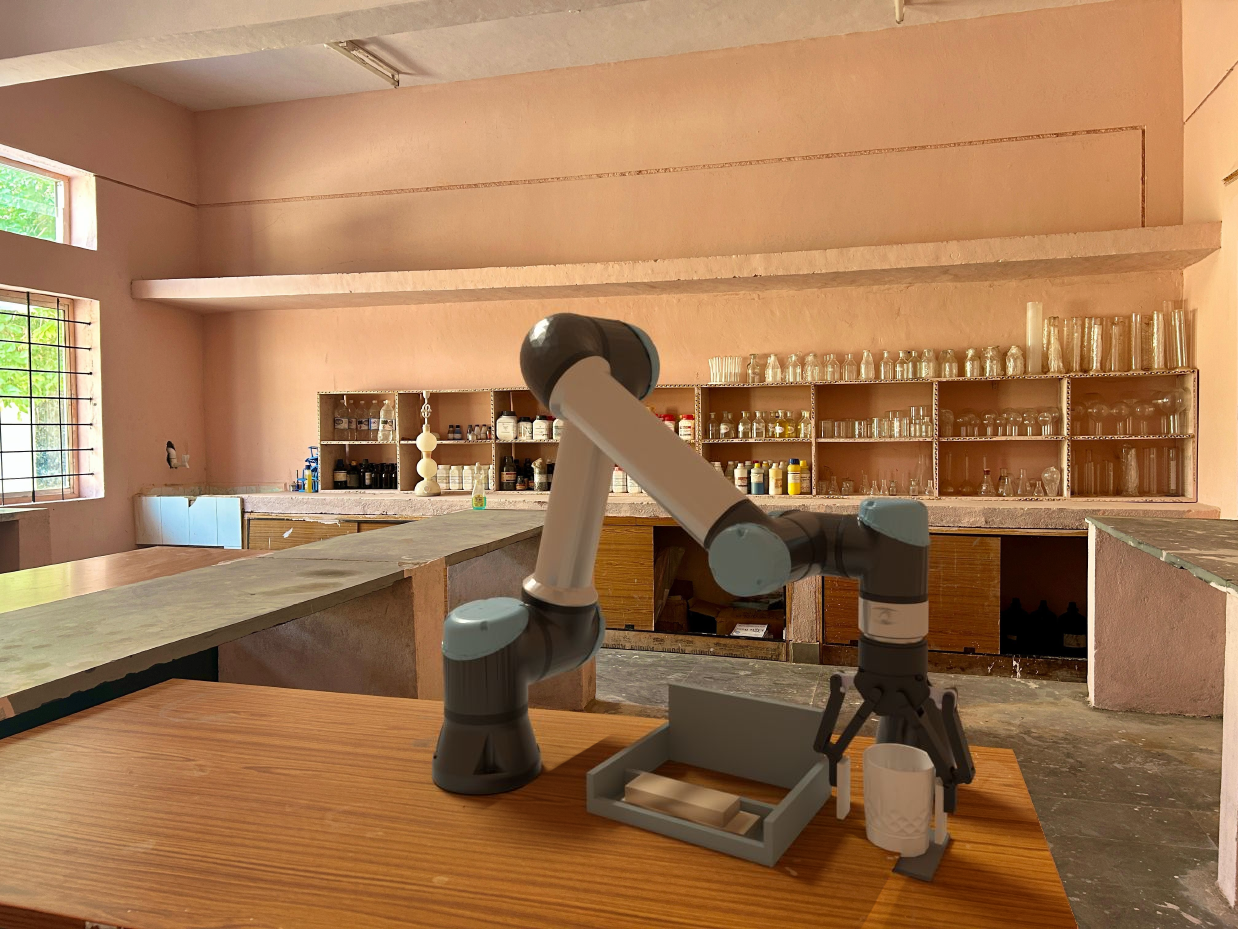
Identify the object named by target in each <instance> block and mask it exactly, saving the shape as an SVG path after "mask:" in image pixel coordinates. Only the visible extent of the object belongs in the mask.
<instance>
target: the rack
mask: <svg viewBox="0 0 1238 929" xmlns="http://www.w3.org/2000/svg"><path fill="white" fill-rule="evenodd" d="M667 691H668V721H665V722H664V723H662V724H660V725H659V726H657V727H656V728H654V729H652V730H651V731H649V732H648V733H646V734H645V735H643V736H642V737H640V738H638V739H637V740H636V741H634V742H633V743H631V744H629V745H628V746H626V747H624V748H623V749H621V750H619V751H618V752H617V753H615V754H614V755H612V756H610V757H609V758H607V759H606V760H604V761H603V762H601V763H599V764H598V765H596V766H595V767H593V768H592V769H590V770H589V771H587V772H586V779H585V780H586V812H587V813H590V814H593V815H597V816H600V817H604V818H607V819H610V820H614V821H617V822H620V823H622V824H626V825H630V826H634V827H637V828H640V829H643V830H646V831H649V832H653V833H657V834H660V835H663V836H666V837H670V838H673V839H676V840H680V841H682V842H686V843H690V844H694V845H697V846H700V847H703V848H707V849H710V850H713V851H717V852H719V853H722V854H727V855H730V856H734V857H736V858H740V859H743V860H747V861H749V862H753V863H756V864H760V865H764V866H767V867H770V868H773V867H774V866H775V865H776V864H777V862H779V860H780V859H781V858H782V856H783V855H784V854H785V853H786V851H788V848H790V846H791V845H792V844H793V843H794V842H795V840H796V839H797V837H798V836H800V834H801V833H802V831H803V830H804V829H805V828H806V827H807V826H808V824H809V823H810V822H811V821H812V819H814V817H815V816H816V814H818V812H819V811H820V809H821V808H822V807H823V806H824V804H825V803H826V802H827V801H828V799H829V798H830V797H831V796H832V788H833V786H830V783H829V759H828V757H827V756H826V755H824V754H822V753H817V752H815V751H814V749H813V745H814V742H815V739H816V736H817V733H818V730H819V727H820V724H821V721H822V718H823V715H824V712H825V709H823V708H817V707H813V706H808V705H803V704H796V703H791V702H785V701H781V700H775V699H771V698H770V699H769V698H764V697H759V696H758V697H757V696H753V695H749V694H748V695H747V694H742V693H739V692H738V693H737V692H731V691H726V690H720V689H715V688H709V687H704V686H699V685H694V684H688V683H682V682H677V681H674V680H673V681H670V682H669V683H668V690H667ZM668 761H674V762H677V763H682V764H685V765H690V766H694V767H699V768H703V769H707V770H711V771H715V772H719V773H722V774H723V773H724V774H727V775H731V776H735V777H739V778H743V779H747V780H748V779H749V780H751V781H756V782H761V783H763V784H768V785H773V786H777V787H781V788H785V789H789V790H791V791H790V792H788V794H787V795H786V796H784V798H783V799H782V800H781V801H780V802H779V803H778V804H772V803H768V802H764V801H760V800H756V799H752V798H749V797H745V796H740V795H737V794H733V793H729V792H727V791H726V792H725V791H722V790H721V791H720V790H717V789H715V788H710V787H705V786H702V785H699V784H694V783H690V782H687V781H682V780H678V779H674V778H671V777H667V776H663V775H659V774H655V773H653V772H654V770H656V769H658V768H659V767H660V766H661V765H663V764H664V763H665V762H668ZM644 772H646V773H649V774H653V775H657V776H661V777H665V778H669V779H673V780H677V781H681V782H684V783H688V784H692V785H696V786H700V787H704V788H708V789H712V790H716V791H719V792H723V793H727V794H731V795H735V796H739V797H740V811H743V812H747V813H750V814H754V815H758V816H761V832H760V833H759V834H758V835H757V836H756V837H755V838H754V839H753V840H752V839H748V838H745V837H741V836H738V835H734V834H731V833H727V832H724V831H720V830H717V829H713V828H710V827H706V826H703V825H699V824H696V823H692V822H689V821H685V820H682V819H678V818H675V817H671V816H668V815H664V814H661V813H657V812H654V811H650V810H647V809H643V808H639V807H636V806H632V805H629V804H625V803H622V802H621V799H623V798H624V797H625V785H627V784H628V783H630V782H631V781H633V780H634V779H635V778H637V777H638V776H640V775H641V774H642V773H644Z"/></svg>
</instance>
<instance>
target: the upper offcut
mask: <svg viewBox="0 0 1238 929" xmlns="http://www.w3.org/2000/svg"><path fill="white" fill-rule="evenodd" d="M653 774H654V773H652V774H649V773H646V772H644V773H642V774H641V775H640V776H638V777H637V778H635V779H634V780H633V781H631V782H630V783H628V784H627V785H625V801H629V802H632V803H636V804H639V805H643V806H646V807H650V808H653V809H657V810H661V811H664V812H668V813H671V814H675V815H678V816H682V817H685V818H689V819H692V820H696V821H699V822H703V823H707V824H710V825H714V826H717V827H721V828H724V827H725V826H726V825H727V824H728V823H729V822H730V821H731V820H732V819H733V818H734V817H735V816H736V815H737V814H738V813H739V812H740V797H739V796H740V795H738V796H735V795H736V794H734V795H731V794H732V793H730V794H727V793H728V792H726V793H723V792H724V791H722V792H719V791H720V790H718V791H716V790H717V789H714V790H712V789H713V788H710V789H708V788H709V787H706V788H704V787H705V786H702V787H700V786H701V785H699V786H696V785H697V784H695V785H692V784H693V783H691V784H688V783H689V782H687V783H684V782H685V781H683V782H681V781H682V780H679V781H677V780H678V779H675V780H673V779H674V778H671V779H669V778H670V777H667V778H665V777H666V776H663V777H661V776H662V775H660V776H657V775H658V774H656V775H653Z"/></svg>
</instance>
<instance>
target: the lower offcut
mask: <svg viewBox="0 0 1238 929" xmlns="http://www.w3.org/2000/svg"><path fill="white" fill-rule="evenodd" d="M621 802H622V803H625V804H629V805H632V806H636V807H639V808H643V809H647V810H650V811H654V812H657V813H661V814H664V815H668V816H671V817H675V818H678V819H682V820H685V821H689V822H692V823H696V824H699V825H703V826H706V827H710V828H713V829H717V830H720V831H724V832H727V833H731V834H734V835H738V836H741V837H745V838H748V839H752V840H753V839H754V838H755V837H756V836H757V835H758V834H759V833H760V832H761V816H758V815H754V814H750V813H747V812H743V811H740V812H739V813H738V814H737V815H736V816H735V817H734V818H733V819H732V820H731V821H730V822H729V823H728V824H727V825H726V826H725V827H724V828H721V827H717V826H714V825H710V824H707V823H703V822H699V821H696V820H692V819H689V818H685V817H682V816H678V815H675V814H671V813H668V812H664V811H661V810H657V809H653V808H650V807H646V806H643V805H639V804H636V803H632V802H629V801H625V797H624V798H623V799H621Z"/></svg>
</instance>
